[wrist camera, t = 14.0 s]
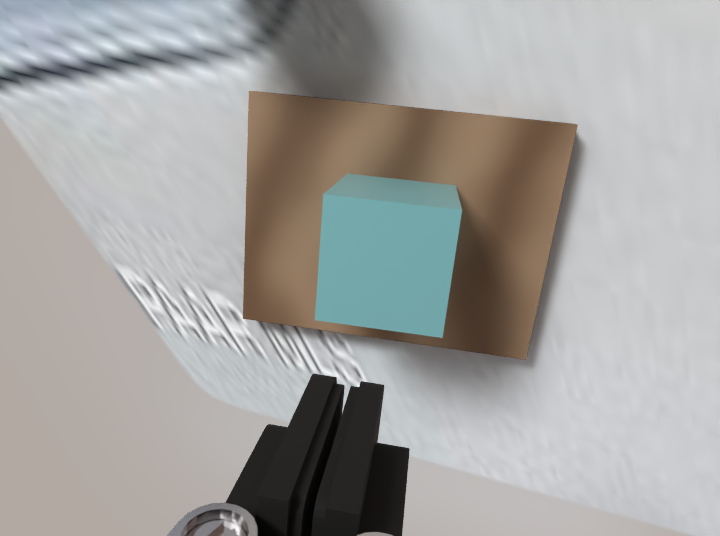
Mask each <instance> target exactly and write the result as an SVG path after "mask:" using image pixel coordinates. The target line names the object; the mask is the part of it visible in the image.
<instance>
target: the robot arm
mask: <svg viewBox="0 0 720 536" xmlns="http://www.w3.org/2000/svg"><path fill="white" fill-rule="evenodd" d="M383 393H384V385H381V384H375V383H368V382H362V381H361V383H360V387H354V386H351V388H350V391H349V394H348V397H347V400H346V404H345V407H344V410H343V413H342V408H343V397H344V385H341V384H337V379H336V377H331V376H325V375H318V374H313V375H312V376H311V378H310V381H309V383H308V385H307V387H306V389H305V391H304V394H303V396H302V398H301V400H300V402H299V404H298V407H297V409H296V411H295V413H294V415H293V417H292V420H291V422H290V424H289V426H288V427H282V426H277V425H271V424H269V425H267V426H266V428H265V429H264V431H263V433H262V435H261V437H260V439H259V441H258V442H257V444H256V446H255V448H254V450H253V452H252V454H251V455H250V458H249V459H248V461H247V463H246V465H245V467H244V469H243V471H242V472H241V474H240V477H239V478H238V480H237V482H236V484H235V486H234V488H233V490H232V491H231V493H230V495H229V497H228V499H227V501H226V503H212V504H208V505H205V506H201V507H199V508H197V509H195V510H193V511H191V512H189V513H187V514H186V515H185V516H184V517H183V518H182V519H181V520H180V521H179V522H178V523H177V524H176V525H175V526H174V528H173V529H172V530H171V531H170V532H169V534H168V535H167V536H402V528H403V517H404V505H405V494H406V483H407V470H408V460H409V448H404V447H399V446H393V445H387V444H381V443H377V441H378V433H379V425H380V417H381V409H382V401H383Z"/></svg>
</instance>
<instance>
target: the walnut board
mask: <svg viewBox="0 0 720 536" xmlns="http://www.w3.org/2000/svg"><path fill="white" fill-rule="evenodd" d="M576 130H577V125H576V124H570V123H560V122H550V121H541V120H531V119H521V118H511V117H502V116H492V115H482V114H472V113H462V112H453V111H443V110H433V109H423V108H414V107H404V106H394V105H384V104H374V103H365V102H355V101H345V100H335V99H326V98H316V97H306V96H296V95H286V94H277V93H267V92H257V91H249V112H248V150H247V187H246V225H245V263H244V301H243V319H250V320H257V321H263V322H270V323H277V324H284V325H291V326H298V327H305V328H312V329H318V330H325V331H332V332H339V333H346V334H353V335H360V336H367V337H374V338H380V339H387V340H394V341H401V342H408V343H415V344H422V345H429V346H435V347H442V348H449V349H456V350H463V351H470V352H477V353H484V354H491V355H497V356H504V357H511V358H518V359H525V360H526V357H527V353H528V348H529V344H530V339H531V335H532V330H533V326H534V321H535V316H536V312H537V307H538V303H539V298H540V294H541V289H542V285H543V280H544V275H545V271H546V266H547V262H548V257H549V253H550V248H551V244H552V239H553V234H554V230H555V225H556V221H557V216H558V212H559V207H560V203H561V198H562V193H563V189H564V184H565V180H566V175H567V171H568V166H569V162H570V157H571V152H572V148H573V143H574V139H575V134H576ZM347 173H348V174H357V175H366V176H375V177H384V178H393V179H402V180H411V181H420V182H429V183H439V184H448V185H456V189H457V192H458V196H459V200H460V204H461V208H462V214H461V221H460V227H459V234H458V240H457V247H456V253H455V260H454V266H453V273H452V279H451V286H450V292H449V299H448V305H447V312H446V318H445V325H444V331H443V338H440V337H432V336H425V335H418V334H411V333H404V332H396V331H389V330H382V329H375V328H367V327H360V326H353V325H346V324H339V323H331V322H324V321H317V320H315V309H316V295H317V280H318V265H319V251H320V236H321V221H322V206H323V194H324V193H325V192H326V191H328V190H329V189H330V188H331V187H332V186H333V185H335V184H336V183H337V182H338V181H339V180H340V179H342V178H343V177H344V176H345V175H346V174H347Z"/></svg>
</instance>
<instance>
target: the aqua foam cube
mask: <svg viewBox="0 0 720 536" xmlns="http://www.w3.org/2000/svg"><path fill="white" fill-rule="evenodd" d="M461 214H462V208H461V204H460V200H459V196H458V192H457V189H456V185H448V184H439V183H429V182H420V181H411V180H402V179H393V178H384V177H375V176H366V175H357V174H348V173H347V174H346V175H345V176H344V177H343V178H342V179H340V180H339V181H338V182H337V183H336V184H335V185H333V186H332V187H331V188H330V189H329V190H328V191H326V192H325V193H324V194H323V206H322V221H321V236H320V251H319V265H318V280H317V295H316V309H315V320H317V321H324V322H331V323H339V324H346V325H353V326H360V327H367V328H375V329H382V330H389V331H396V332H404V333H411V334H418V335H425V336H432V337H440V338H443V331H444V325H445V318H446V312H447V305H448V299H449V292H450V286H451V279H452V273H453V266H454V260H455V253H456V247H457V240H458V234H459V227H460V221H461Z"/></svg>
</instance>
